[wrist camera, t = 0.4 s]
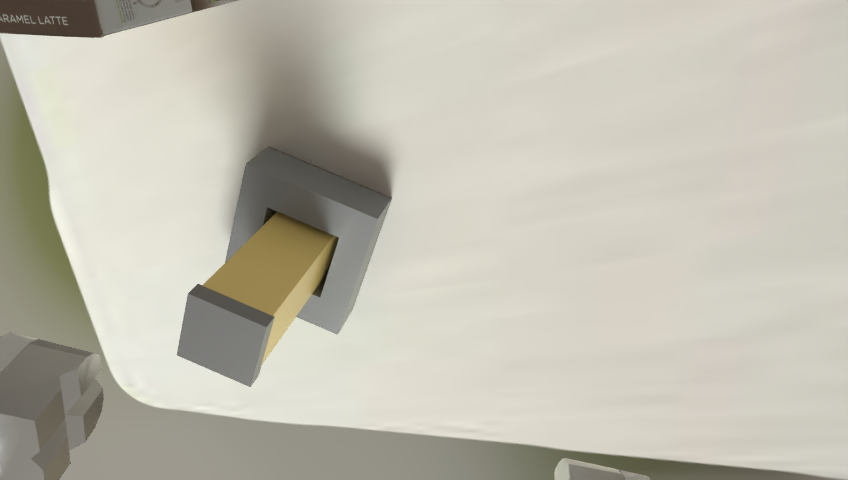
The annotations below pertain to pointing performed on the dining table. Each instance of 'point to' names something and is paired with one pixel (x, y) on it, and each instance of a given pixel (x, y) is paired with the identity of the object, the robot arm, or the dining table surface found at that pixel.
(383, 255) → the dining table surface
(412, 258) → the dining table surface
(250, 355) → the plug
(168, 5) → the coffee box
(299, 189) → the grey square socket base
